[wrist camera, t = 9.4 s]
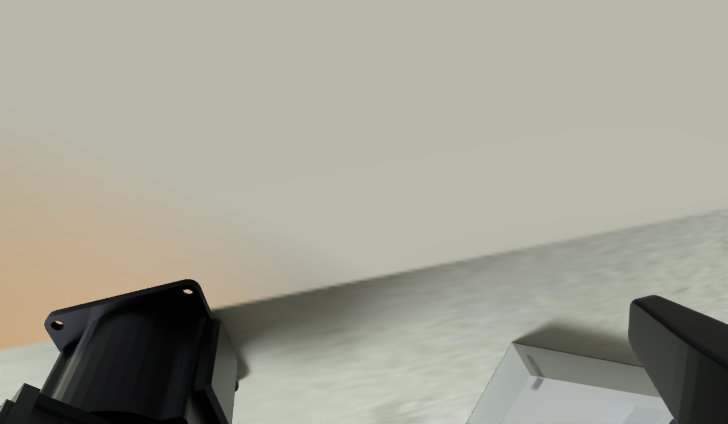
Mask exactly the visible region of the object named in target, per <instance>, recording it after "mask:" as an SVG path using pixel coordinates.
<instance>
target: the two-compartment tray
mask: <svg viewBox="0 0 728 424" xmlns="http://www.w3.org/2000/svg"><path fill="white" fill-rule="evenodd" d="M672 419H674V418H673V416H672V415H671V413H670V412H669V410H668V408H667V406H666V405H665V403H664V401H663V400H662V398H661V396H660V395H659V393H658V391H657V390H656V388H655V386H654V384H653V383H652V381H651V379H650V378H649V376H648V374H647V373H646V371H645V369H644V368H643V367H637V366H632V365H627V364H622V363H616V362H611V361H606V360H600V359H595V358H590V357H585V356H579V355H574V354H569V353H564V352H558V351H553V350H548V349H542V348H537V347H532V346H527V345H521V344H516V343H512V344H511V345H510V347H509V349H508V351H507V352H506V354H505V356H504V358H503V359H502V361H501V363H500V365H499V367H498V368H497V370H496V372H495V374H494V375H493V377H492V379H491V381H490V382H489V384H488V386H487V388H486V390H485V391H484V393H483V395H482V397H481V398H480V400H479V402H478V404H477V405H476V407H475V409H474V411H473V413H472V414H471V416H470V418H469V420H468V421H467V423H466V424H669V423H670V422H671V420H672Z"/></svg>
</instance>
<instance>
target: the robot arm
mask: <svg viewBox="0 0 728 424" xmlns="http://www.w3.org/2000/svg"><path fill="white" fill-rule="evenodd" d="M186 289H189V290H191V291H192V292H193V293H191V294H187V293H185V292H184V291H183V290H186ZM55 321H60V322H62V323H63V324H57V323H56V322H55ZM44 325H45V328H46V330H47V332H48V333H49V335H50V337H51V338H52V340H53V341H54V343H55V345H56V346H57V348H58V349H59V351H60V355H59V357H58V359H57V361H56V363H55V365H54V366H53V368H52V370H51V372H50V374H49V376H48V378H47V380H46V382H45V384H44V386H43V388H42V389H38V388H36V387H33V386H31V385H28V384H26V383H24V384H23V385H22V387H21V388H20V389H19V391H18V392H17V393H16V395H15V396H14V397H13V399H12V400H11V401H10V400H8V399H6V400H5V402H4V403H3V404H2V405H1V406H0V424H232V416H233V406H234V395H235V392H236V391H237V390H238V387H239V377H238V375H237V364H238V360H237V357H236V355H235V352H234V350H233V348H232V345H231V343H230V340H229V338H228V336H227V333H226V331H225V328H224V326H223V323H222V321H220V320H219V319H217V318H213V315H212V313H211V311H210V308H209V306H208V304H207V301H206V299H205V296H204V294H203V292H202V289H201V287H200V285H199V284H198V283H197V282H196V281H194V280H191V279H185V280H181V281H177V282H172V283H168V284H164V285H160V286H156V287H151V288H147V289H143V290H139V291H135V292H131V293H127V294H122V295H118V296H114V297H110V298H106V299H101V300H97V301H93V302H89V303H85V304H81V305H76V306H73V307H68V308H64V309H60V310H56V311H53V312H51V313H50V314H49V316H48V317H47V319H46V321H45V324H44ZM628 337H629V342H630V345H631V347H632V349H633V351H634V352H635V354H636V356H637V357H638V359H639V361H640V362H641V364H642V366H643V368H644V369H645V371H646V373H647V374H648V376H649V378H650V379H651V381H652V383H653V384H654V386H655V388H656V390H657V391H658V393H659V395H660V396H661V398H662V400H663V401H664V403H665V405H666V406H667V408H668V410H669V412H670V413H671V415H672V416H673V418H674V419H675V421H676V423H677V424H728V324H726V323H723V322H721V321H718V320H716V319H714V318H711V317H709V316H706V315H704V314H701V313H699V312H697V311H694V310H692V309H689V308H687V307H684V306H682V305H680V304H677V303H675V302H672V301H670V300H668V299H665V298H663V297H660V296H657V295H650V296H646V297H642V298H638V299H635V300H633V301H632V302H631V304H630V313H629V328H628ZM40 390H41V391H40Z"/></svg>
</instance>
